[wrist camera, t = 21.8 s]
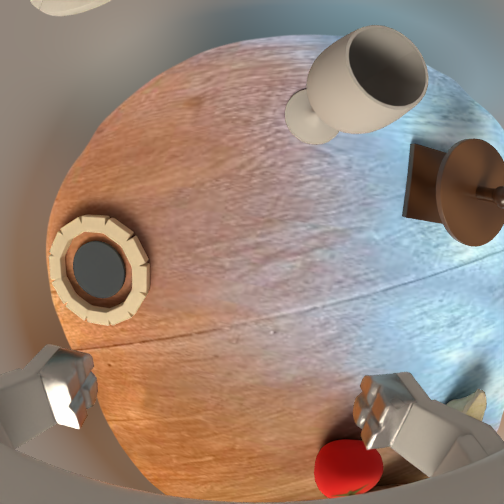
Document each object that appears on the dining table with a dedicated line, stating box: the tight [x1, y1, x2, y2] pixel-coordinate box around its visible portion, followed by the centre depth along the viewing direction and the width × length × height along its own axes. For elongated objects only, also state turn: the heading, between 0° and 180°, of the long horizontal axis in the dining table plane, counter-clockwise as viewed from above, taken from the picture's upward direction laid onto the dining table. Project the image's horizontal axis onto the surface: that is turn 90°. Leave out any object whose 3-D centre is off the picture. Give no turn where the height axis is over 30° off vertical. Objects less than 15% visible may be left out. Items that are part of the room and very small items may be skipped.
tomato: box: [314, 439, 383, 498], centre depth 44 cm, size 12×14×11 cm
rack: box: [402, 139, 504, 246], centre depth 31 cm, size 13×13×15 cm
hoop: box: [49, 214, 150, 326], centre depth 39 cm, size 15×15×2 cm
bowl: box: [446, 389, 487, 421], centre depth 45 cm, size 15×14×10 cm
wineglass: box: [285, 25, 428, 145], centre depth 25 cm, size 8×8×21 cm
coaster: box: [73, 241, 126, 298], centre depth 39 cm, size 8×8×1 cm
